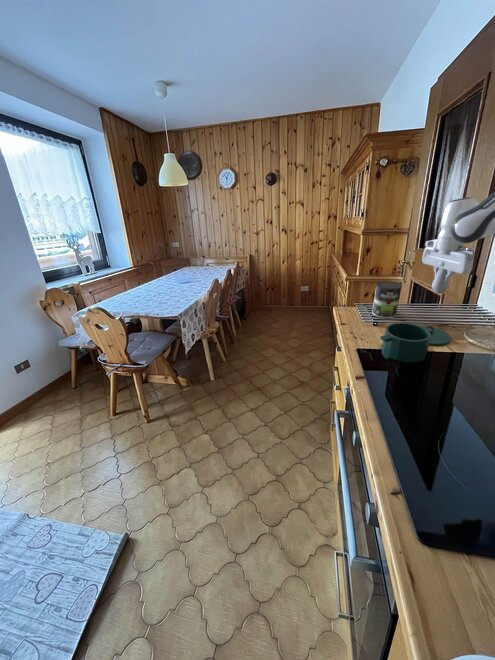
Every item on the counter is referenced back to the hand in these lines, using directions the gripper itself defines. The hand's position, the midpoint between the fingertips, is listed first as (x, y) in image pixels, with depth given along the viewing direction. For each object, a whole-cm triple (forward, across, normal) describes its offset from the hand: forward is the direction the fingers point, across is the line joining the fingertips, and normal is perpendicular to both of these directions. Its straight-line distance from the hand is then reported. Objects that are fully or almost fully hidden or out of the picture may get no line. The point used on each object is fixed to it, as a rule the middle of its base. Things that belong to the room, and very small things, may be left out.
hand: (441, 279), depth 114 cm
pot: (+18, -20, +30) cm, 40 cm away
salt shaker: (+5, 0, 0) cm, 5 cm away
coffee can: (+18, +12, +14) cm, 26 cm away
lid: (+18, -12, +12) cm, 24 cm away
